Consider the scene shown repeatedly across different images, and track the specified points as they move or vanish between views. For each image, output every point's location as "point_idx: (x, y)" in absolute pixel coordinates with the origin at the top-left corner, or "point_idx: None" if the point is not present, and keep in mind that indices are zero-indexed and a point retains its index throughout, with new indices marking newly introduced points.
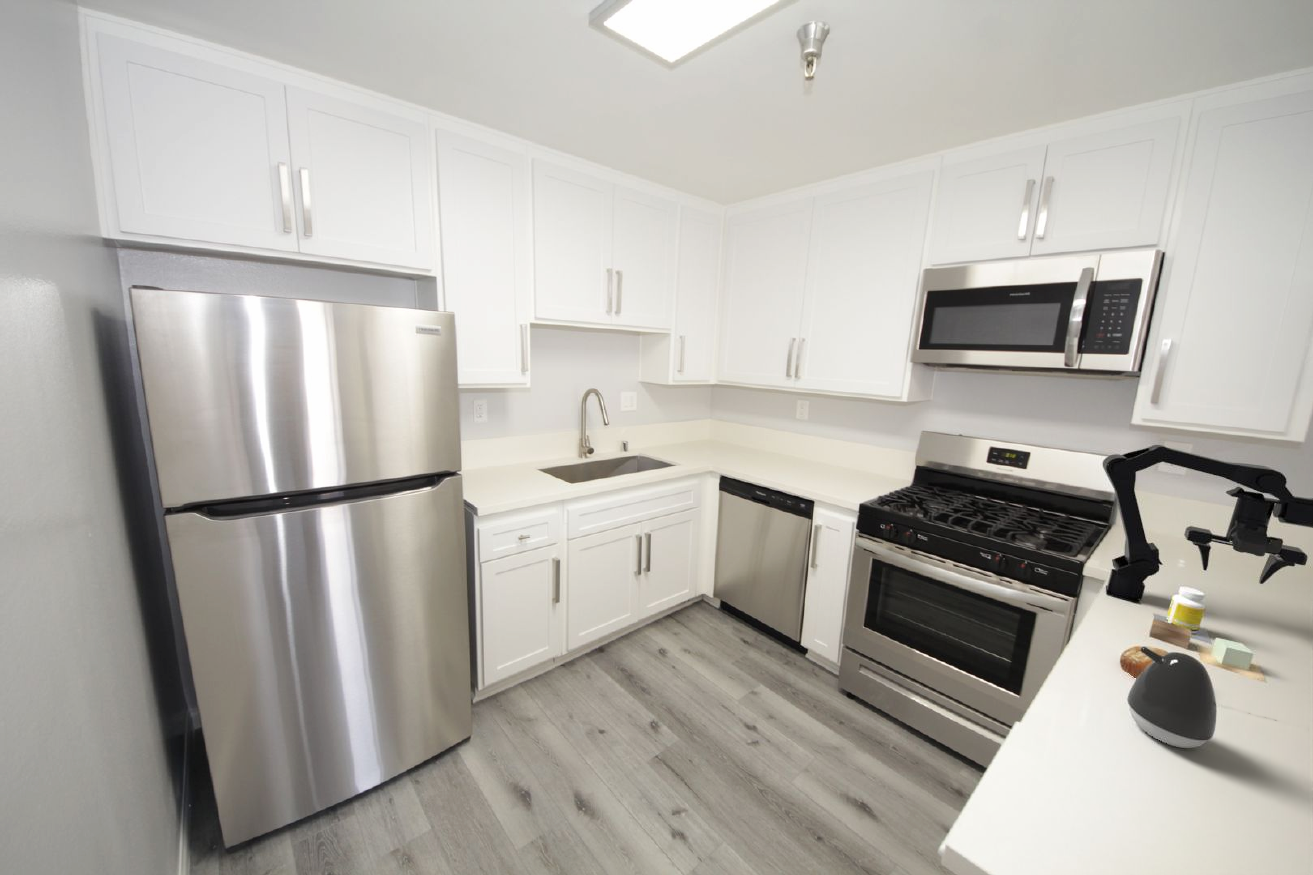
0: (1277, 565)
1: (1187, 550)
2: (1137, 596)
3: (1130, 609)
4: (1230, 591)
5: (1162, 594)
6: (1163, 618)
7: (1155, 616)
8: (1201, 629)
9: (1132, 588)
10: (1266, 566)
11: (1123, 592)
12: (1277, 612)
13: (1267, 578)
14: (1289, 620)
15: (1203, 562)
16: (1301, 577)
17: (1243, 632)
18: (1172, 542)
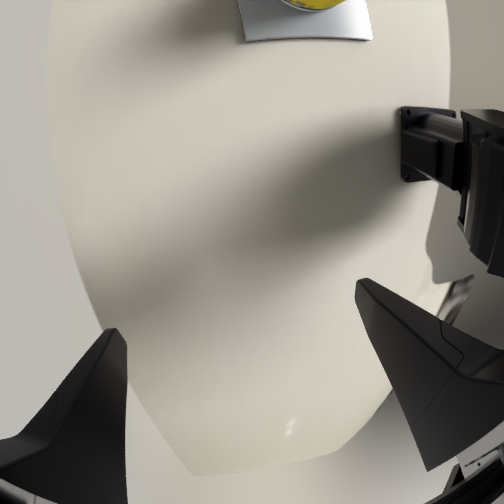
0: (18, 446)
1: (280, 453)
2: (415, 127)
3: (409, 42)
4: (225, 397)
5: (343, 262)
6: (348, 16)
7: (365, 16)
8: (256, 17)
9: (444, 123)
10: (105, 444)
11: (443, 115)
12: (153, 372)
13: (83, 359)
14: (129, 353)
15: (408, 303)
16: (182, 462)
17: (158, 155)
18: (293, 456)
